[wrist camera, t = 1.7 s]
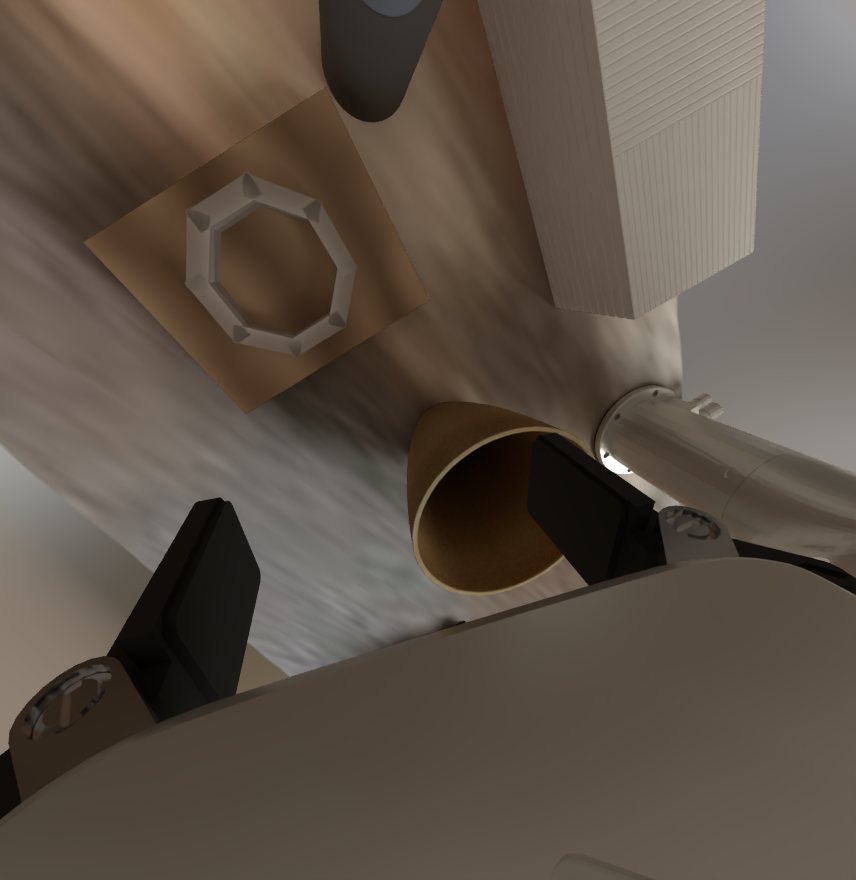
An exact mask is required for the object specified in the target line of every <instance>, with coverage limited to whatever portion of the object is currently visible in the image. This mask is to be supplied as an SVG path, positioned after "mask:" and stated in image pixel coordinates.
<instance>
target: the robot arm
mask: <svg viewBox="0 0 856 880" xmlns="http://www.w3.org/2000/svg"><path fill="white" fill-rule="evenodd" d="M710 402H712V398H711V396H710V395H708V394H706V393H704V394H702V395H700V396H698V397H697V398H695V399H694V400H693V401H691V402H685V401H682V400H680V398H679V397H678V395H677V394H676V393H675V392H673V391H672V390H670V389H668V388H665V387H662V386H658V385H649V386H644V387H640V388H638V389H636V390H633V391H631V392H630V393H628V394H627V395H625V396H624V397H622V398H621V399H620V400H619V401H618V402H616V403H615V405H614V406H613V407H612V408H611V409H610V410H609V411H608V413H607V414H606V416H605V417H604V419H603V421H602V423H601V424H600V426H599V429H598V432H597V435H596V441H595V452H596V456H597V458H598V460H599V462H600V463H599V462H598V461H596V460H595V459H594V458H592V457H591V456H589V455H588V454H586V453H585V452H584V451H582V450H581V449H579V448H578V447H576V446H575V445H574V444H572V443H571V442H569V441H568V440H566V439H565V438H564V437H562V436H561V435H559V434H558V433H556V432H555V433H549V434H544V435H539V436H538V437H537V438H536V440H535V441H533V443H532V451H531V462H530V474H529V485H528V497H527V509H528V512H529V514H530V516H531V517H532V518H533V519H534V520H535V522H536V523H537V524H538V525H539V526H540V528H541V529H542V530H543V531H544V532H545V534H546V535H547V536H548V537H549V538H550V540H551V541H552V542H553V543H554V544H555V546H556V547H557V548H558V549H559V550H560V552H561V553H562V554H563V555H564V556H565V558H566V559H567V560H568V561H569V562H570V564H571V565H572V566H573V567H574V568H575V570H576V571H577V572H578V573H579V574H580V576H581V577H582V578H583V579H584V580H585V582H586V583H587V584H588V585H589V586H587V587H583V588H580V589H577V590H573V591H570V592H567V593H563V594H560V595H556V596H553V597H550V598H546V599H543V600H540V601H536V602H533V603H530V604H526V605H523V606H519V607H516V608H513V609H510V610H506V611H503V612H500V613H496V614H493V615H490V616H486V617H483V618H480V619H477V620H473V621H470V622H467V623H463V624H460V625H457V626H454V627H450V628H447V629H444V630H440V631H437V632H434V633H431V634H427V635H424V636H421V637H417V638H414V639H411V640H408V641H404V642H401V643H398V644H395V645H391V646H388V647H385V648H382V649H378V650H375V651H372V652H369V653H366V654H362V655H359V656H356V657H353V658H349V659H346V660H343V661H340V662H337V663H333V664H330V665H327V666H324V667H320V668H317V669H314V670H311V671H307V672H304V673H301V674H298V675H295V676H291V677H288V678H285V679H282V680H279V681H276V682H273V683H270V684H267V685H264V686H261V687H258V688H255V689H252V690H249V691H246V692H243V693H240V694H236V690H237V686H238V681H239V677H240V672H241V668H242V663H243V659H244V654H245V649H246V645H247V640H248V636H249V631H250V626H251V622H252V617H253V613H254V608H255V604H256V599H257V594H258V590H259V585H260V577H261V576H260V570H259V567H258V565H257V562H256V560H255V557H254V555H253V553H252V550H251V548H250V546H249V543H248V541H247V539H246V536H245V534H244V531H243V529H242V527H241V524H240V522H239V520H238V517H237V515H236V512H235V510H234V508H233V505H232V503H231V502H230V501H225V502H224V500H223V499H222V498H220V497H219V498H214V499H209V500H204V501H199V502H196V503H195V504H194V506H193V507H192V509H191V511H190V513H189V514H188V516H187V518H186V519H185V521H184V523H183V525H182V526H181V528H180V530H179V532H178V533H177V535H176V537H175V539H174V540H173V542H172V544H171V545H170V547H169V549H168V551H167V552H166V554H165V556H164V558H163V559H162V561H161V563H160V564H159V566H158V567H157V569H156V571H155V573H154V574H153V576H152V578H151V580H150V581H149V583H148V585H147V587H146V588H145V590H144V592H143V593H142V595H141V597H140V599H139V600H138V602H137V604H136V606H135V608H134V609H133V611H132V613H131V614H130V616H129V618H128V619H127V621H126V623H125V625H124V626H123V628H122V630H121V632H120V633H119V635H118V637H117V639H116V640H115V642H114V644H113V645H112V647H111V649H110V651H109V652H108V654H107V656H102V657H98V658H93V659H89V660H87V661H85V662H82V663H80V664H77V665H75V666H73V667H72V668H70V669H68V670H67V671H65V672H63V673H62V674H60V675H59V676H57V677H56V678H55V679H53V680H52V681H51V682H49V683H48V684H47V685H46V686H44V687H43V688H42V689H41V690H40V691H39V692H38V693H37V694H36V695H35V696H34V697H33V698H32V699H31V700H30V701H29V702H28V703H27V704H26V705H25V707H24V708H23V709H22V711H21V712H20V713H19V715H18V716H17V717H16V719H15V721H14V723H13V725H12V728H11V729H10V732H9V743H8V744H9V749H8V750H7V751H5V752H4V753H3V754H1V755H0V880H856V473H854V472H851V471H848V470H845V469H842V468H839V467H837V466H834V465H831V464H828V463H826V462H823V461H820V460H818V459H815V458H812V457H810V456H807V455H805V454H802V453H799V452H797V451H794V450H791V449H789V448H786V447H783V446H781V445H778V444H775V443H773V442H770V441H768V440H765V439H762V438H760V437H757V436H755V435H752V434H749V433H747V432H744V431H741V430H739V429H736V428H734V427H731V426H728V425H726V424H723V423H721V422H718V421H715V420H713V419H715V418H716V417H718V416H720V415H721V414H723V409H722V407H721V406H720V405H719V404H717V403H713V402H712V403H710ZM707 404H708V405H707ZM705 405H706V406H705ZM702 407H703V408H702ZM699 408H701V409H699ZM615 473H616V474H615ZM631 473H635V474H637V475H638V476H640V477H641V478H643V479H644V480H646V481H647V482H649V483H650V484H652V485H653V486H655V487H656V488H658V489H659V490H661V491H662V492H664V493H665V494H667V495H669V496H670V497H672V498H673V499H675V500H676V501H678V502H679V503H681V504H682V505H684V506H668V507H665V508H663V509H662V510H661V511H660V512H659V513H658V512H656V511H655V510H654V509H653V507H654V504H655V501H654V500H652V499H651V498H649V497H648V496H647V495H645V494H644V493H642V492H641V491H639V490H638V489H637V488H635V487H634V486H632V485H631V484H629V483H628V482H627V481H625V480H624V479H622V478H621V477H619V476H618V475H617V474H631ZM731 537H733V538H734V539H733V538H731ZM810 557H823V558H827V559H828V560H829V561H830V563H828V562H825V561H821V560H817V559H814V558H810Z"/></svg>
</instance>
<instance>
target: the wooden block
mask: <svg viewBox="0 0 856 880" xmlns="http://www.w3.org/2000/svg"><path fill="white" fill-rule="evenodd" d="M84 243H85V245H86V246H87V247H88V248H89V249H90V250H91V251H92V252H93V253H94V254H95V255H96V256H97V257H98V258H99V259H100V260H101V261H102V263H103V264H104V265H105V266H106V267H107V268H108V269H109V270H110V271H111V272H112V273H113V274H114V275H115V276H116V277H117V278H118V279H119V281H120V282H121V283H122V284H123V285H124V286H125V287H126V288H127V289H128V290H129V291H130V292H131V293H132V294H133V295H134V296H135V297H136V299H137V300H138V301H139V302H140V303H141V304H142V305H143V306H144V307H145V308H146V309H147V310H148V311H149V312H150V313H151V314H152V315H153V317H154V318H155V319H156V320H157V321H158V322H159V323H160V324H161V325H162V326H163V327H164V328H165V329H166V330H167V331H168V332H169V333H170V335H171V336H172V337H173V338H174V339H175V340H176V341H177V342H178V343H179V344H180V345H181V346H182V347H183V348H184V349H185V350H186V351H187V353H188V354H189V355H190V356H191V357H192V358H193V359H194V360H195V361H196V362H197V363H198V364H199V365H200V366H201V367H202V368H203V369H204V371H205V372H206V373H207V374H208V375H209V376H210V377H211V378H212V379H213V380H214V381H215V382H216V383H217V384H218V385H219V386H220V387H221V389H222V390H223V391H224V392H225V393H226V394H227V395H228V396H229V397H230V398H231V399H232V400H233V401H234V402H235V403H236V404H237V405H238V407H239V408H240V409H241V410H242V411H243V412H244V413H245V414H248V413H249V412H251V411H252V410H254V409H256V408H257V407H259V406H261V405H262V404H264V403H265V402H267V401H269V400H270V399H272V398H273V397H275V396H277V395H278V394H280V393H281V392H283V391H285V390H286V389H288V388H289V387H291V386H293V385H294V384H296V383H297V382H299V381H301V380H302V379H304V378H305V377H307V376H309V375H310V374H312V373H313V372H315V371H317V370H318V369H320V368H321V367H323V366H325V365H326V364H328V363H329V362H331V361H333V360H334V359H336V358H338V357H339V356H341V355H342V354H344V353H346V352H347V351H349V350H350V349H352V348H354V347H355V346H357V345H358V344H360V343H362V342H363V341H365V340H366V339H368V338H370V337H371V336H373V335H374V334H376V333H378V332H379V331H381V330H382V329H384V328H386V327H387V326H389V325H390V324H392V323H394V322H395V321H397V320H398V319H400V318H402V317H403V316H405V315H406V314H408V313H410V312H411V311H413V310H415V309H416V308H418V307H419V306H421V305H423V304H424V303H426V302H427V301H429V298H428V295H427V293H426V291H425V289H424V287H423V285H422V283H421V281H420V279H419V277H418V275H417V273H416V271H415V269H414V267H413V265H412V263H411V261H410V259H409V257H408V255H407V252H406V250H405V248H404V246H403V244H402V242H401V240H400V238H399V236H398V234H397V232H396V230H395V228H394V226H393V224H392V222H391V220H390V218H389V216H388V214H387V211H386V209H385V207H384V205H383V203H382V201H381V199H380V197H379V195H378V193H377V191H376V189H375V187H374V185H373V183H372V181H371V179H370V177H369V175H368V173H367V170H366V168H365V166H364V164H363V162H362V160H361V158H360V156H359V154H358V152H357V150H356V148H355V146H354V144H353V142H352V140H351V138H350V136H349V134H348V132H347V130H346V127H345V125H344V123H343V121H342V119H341V117H340V115H339V113H338V111H337V109H336V107H335V105H334V103H333V101H332V99H331V97H330V95H329V93H328V91H327V89H326V87H325V88H324V89H322V90H321V91H319V92H317V93H316V94H314V95H313V96H311V97H310V98H308V99H306V100H305V101H303V102H302V103H300V104H299V105H297V106H295V107H294V108H292V109H291V110H289V111H288V112H286V113H285V114H283V115H281V116H280V117H278V118H277V119H275V120H274V121H272V122H270V123H269V124H267V125H266V126H264V127H263V128H261V129H259V130H258V131H256V132H255V133H253V134H252V135H250V136H249V137H247V138H245V139H244V140H242V141H241V142H239V143H238V144H236V145H234V146H233V147H231V148H230V149H228V150H227V151H225V152H224V153H222V154H220V155H219V156H217V157H216V158H214V159H213V160H211V161H209V162H208V163H206V164H205V165H203V166H202V167H200V168H198V169H197V170H195V171H194V172H192V173H191V174H189V175H188V176H186V177H184V178H183V179H181V180H180V181H178V182H177V183H175V184H173V185H172V186H170V187H169V188H167V189H166V190H164V191H162V192H161V193H159V194H158V195H156V196H155V197H153V198H152V199H150V200H148V201H147V202H145V203H144V204H142V205H141V206H139V207H137V208H136V209H134V210H133V211H131V212H130V213H128V214H126V215H125V216H123V217H122V218H120V219H119V220H117V221H116V222H114V223H112V224H111V225H109V226H108V227H106V228H105V229H103V230H101V231H100V232H98V233H97V234H95V235H94V236H92V237H91V238H89V239H87V240H86V241H84Z"/></svg>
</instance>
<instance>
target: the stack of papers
mask: <svg viewBox="0 0 856 880" xmlns="http://www.w3.org/2000/svg"><path fill="white" fill-rule="evenodd" d="M477 1H478V5H479V9H480V13H481V17H482V21H483V24H484V28H485V32H486V36H487V40H488V44H489V48H490V52H491V56H492V60H493V64H494V68H495V72H496V76H497V79H498V83H499V87H500V91H501V95H502V99H503V103H504V107H505V111H506V115H507V119H508V123H509V127H510V131H511V135H512V138H513V142H514V146H515V150H516V154H517V158H518V162H519V166H520V170H521V174H522V178H523V182H524V186H525V190H526V194H527V197H528V201H529V205H530V209H531V213H532V217H533V221H534V225H535V229H536V233H537V237H538V241H539V245H540V249H541V252H542V256H543V260H544V264H545V268H546V272H547V276H548V280H549V284H550V288H551V292H552V296H553V300H554V304H555V308H559V309H560V308H561V309H567V310H573V311H579V312H585V311H586V313H592V312H593V314H601V315H609V316H613V317H615V316H617V317H620V318H625V317H626V319H633V320H635V319H636V318H638V317H640V316H642V315H643V314H645V313H647V312H649V311H650V310H652V309H654V308H656V307H657V306H659V305H661V304H663V303H664V302H666V301H668V300H670V299H671V298H673V297H675V296H677V295H678V294H680V293H682V292H684V291H685V290H687V289H689V288H691V287H692V286H694V285H696V284H698V283H699V282H701V281H703V280H705V279H706V278H708V277H710V276H712V275H713V274H715V273H717V272H719V271H720V270H722V269H724V268H726V267H727V266H729V265H731V264H733V263H734V262H736V261H738V260H739V259H741V258H743V257H745V256H747V255H748V254H750V253H752V252H754V237H755V215H756V196H757V194H756V193H757V174H758V154H759V133H760V113H761V92H762V72H763V71H762V70H763V51H764V31H765V9H766V8H765V7H766V0H477Z"/></svg>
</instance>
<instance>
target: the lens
mask: <svg viewBox="0 0 856 880" xmlns="http://www.w3.org/2000/svg"><path fill="white" fill-rule="evenodd" d="M441 3H442V0H319V12H320V32H321V53H322V64H323V70H324V74H325V78H326V81H327V83H328V86H329V88H330V90H331V92H332V94H333V96H334V97H335V99H336V100H337V102H338V103H339V104H340V105H341V106H342V108H343V109H344V110H346V111H347V112H348V113H349V114H350V115H352V116H353V117H355V118H357V119H359V120H362V121H365V122H379V121H383V120H385V119H387V118H388V117H390V116H391V115H392V114H393V113H394V112H395V111H396V110H397V109H398V107H399V106H400V104H401V102H402V100H403V98H404V95H405V93H406V90H407V88H408V85H409V83H410V80H411V78H412V75H413V73H414V70H415V68H416V65H417V63H418V60H419V58H420V55H421V53H422V50H423V48H424V46H425V43H426V41H427V38H428V36H429V33H430V31H431V28H432V26H433V23H434V21H435V18H436V16H437V13H438V11H439V8H440V6H441Z"/></svg>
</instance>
